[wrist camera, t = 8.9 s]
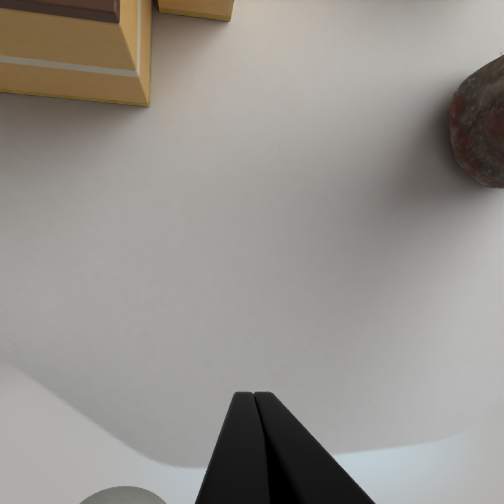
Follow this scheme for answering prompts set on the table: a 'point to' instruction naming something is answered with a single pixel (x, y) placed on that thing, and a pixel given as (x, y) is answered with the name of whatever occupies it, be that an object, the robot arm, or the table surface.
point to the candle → (480, 124)
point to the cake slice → (198, 8)
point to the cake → (77, 49)
